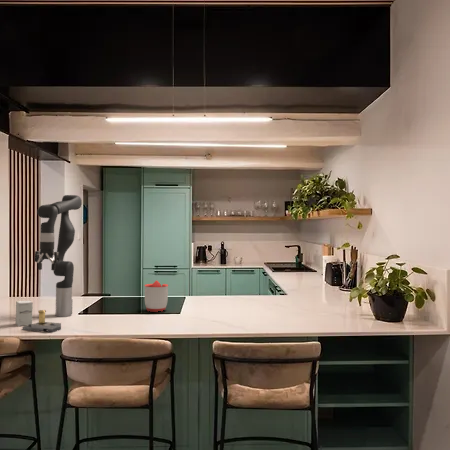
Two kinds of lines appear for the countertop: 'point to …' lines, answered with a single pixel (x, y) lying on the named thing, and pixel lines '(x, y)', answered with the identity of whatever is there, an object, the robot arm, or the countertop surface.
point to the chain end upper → (48, 326)
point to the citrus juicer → (156, 296)
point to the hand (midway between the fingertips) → (46, 269)
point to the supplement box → (24, 312)
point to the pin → (41, 317)
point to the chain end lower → (32, 328)
